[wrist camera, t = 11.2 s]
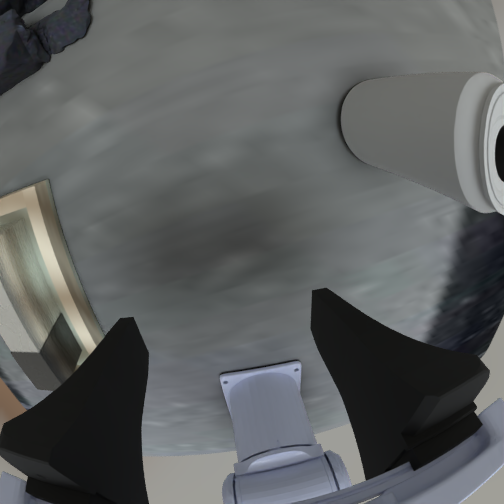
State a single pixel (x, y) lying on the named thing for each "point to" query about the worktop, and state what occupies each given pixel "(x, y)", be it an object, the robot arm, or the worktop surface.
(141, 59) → the worktop surface
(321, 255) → the worktop surface
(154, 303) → the worktop surface
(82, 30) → the dark slate chunk
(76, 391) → the robot arm
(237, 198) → the worktop surface
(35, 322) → the grey rectangular block
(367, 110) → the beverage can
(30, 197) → the beige rectangular tray
